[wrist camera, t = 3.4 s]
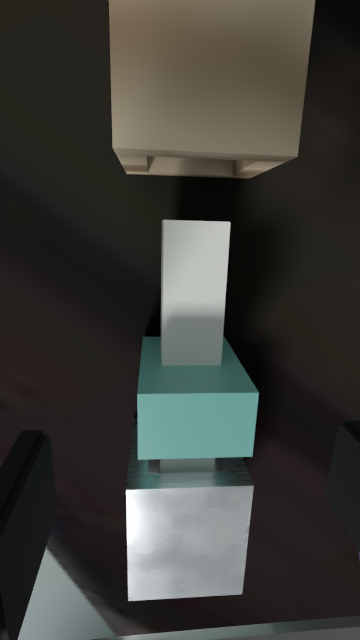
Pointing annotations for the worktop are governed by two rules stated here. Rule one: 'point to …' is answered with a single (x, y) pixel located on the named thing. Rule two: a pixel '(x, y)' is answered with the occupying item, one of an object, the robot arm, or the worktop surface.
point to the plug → (193, 359)
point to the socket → (208, 84)
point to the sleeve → (186, 528)
